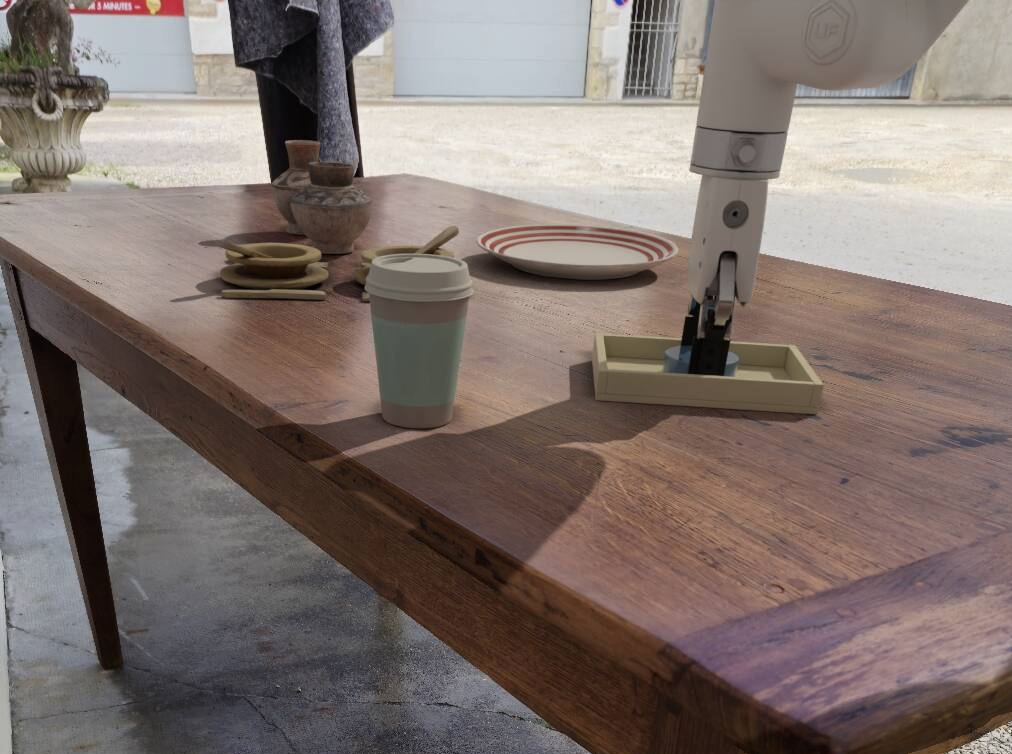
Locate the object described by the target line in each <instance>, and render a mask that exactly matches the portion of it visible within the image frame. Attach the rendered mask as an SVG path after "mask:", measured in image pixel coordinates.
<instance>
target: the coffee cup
mask: <svg viewBox="0 0 1012 754" xmlns="http://www.w3.org/2000/svg"><path fill="white" fill-rule="evenodd" d="M473 284H474V283H473V280H472V279H471V276H470V270H469V265H468V263H467V262H466V261H464V260H462V259H459V258H456V257H454V258H452V257H447V256H440V255H431V254H393V255H386V256H381V257H377V258H375V259H373V260H372V262H371V266H370V270H369V275H368V276H367V277H366V285H364V291H366V292H369V299H370V301H369V305H370V306H369V307H370V309H369V310H370V317H371V326H372V335H373V345H374V353H375V361H376V362H375V363H376V370H377V372H376V373H377V380H378V389H379V399H380V408H381V415H382V418H383V420H384V421H385V422H386V423H388V424H390V425H393V426H396V427H400V428H406V429H418V430H419V429H421V430H422V429H433V428H439V427H442V426H445V425H447V424H448V423H450V422H451V420H452V418H453V411H454V405H455V398H456V391H457V384H458V379H459V371H460V364H461V358H462V351H463V344H464V338H465V331H466V324H467V317H468V310H469V303H470V298H471V297H470V296H472V295H473V294H474V291H475V290H474V289H473Z"/></svg>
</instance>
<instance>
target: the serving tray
mask: <svg viewBox="0 0 1012 754" xmlns="http://www.w3.org/2000/svg"><path fill="white" fill-rule="evenodd" d="M681 340H682V337H667V336H666V337H665V336H648V335H634V334H633V335H632V334H618V333H602V332H601V333H600V332H595V333H594V338H593V347H592V354H591V355H592V357H591V363H592V365H591V366H592V375H593V386H594V396H595V401H599V402H600V401H601V402H619V403H630V404H631V403H632V404H633V403H634V404H649V405H661V406H662V405H663V406H664V405H665V406H677V407H679V406H680V407H693V408H695V407H696V408H711V409H726V410H742V411H756V412H757V411H758V412H772V413H773V412H774V413H786V414H787V413H788V414H804V415H805V414H806V415H818V411H819V406H820V403H821V399H822V394H823V390H824V387H825V385H824V383H823V382H822V380H821V379H820V377H819V376H818V375H817V373H816V372H815V371H814V368H812V367H811V365H810V363H808V361H807V360H806V358H805V357H804V355H803V354H802V352H801V351H800V350H799V349H798V347H797V346H796V345H795V344H782V343H781V344H779V343H763V342H748V341H730V346H729V352H732V353H734V354H736V355H737V356H738V357H739V362H738V367H737V372H736V377H727V376H711V375H695V374H679V373H663V372H662V369H663V362H664V355H665V351H666V350H667V349H669V348H671V347H676V346H681Z"/></svg>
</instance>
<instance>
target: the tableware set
mask: <svg viewBox="0 0 1012 754" xmlns="http://www.w3.org/2000/svg"><path fill="white" fill-rule="evenodd" d="M459 234H460V230H459V227H458V226H457V225H451V226H448V227H447V228H445V229H444V230H442V231H441V232H440V233H439V234H438V235H436V236H435V237H433V238H432V239H431V240H430V241H428V242H427V243H425V245H388V246H387V245H386V246H379V247H378V246H377V247H373V248H369V249H365V250H363V251H362V252H361V253H360V258H361V260H362V261H364V262H361V263H360V268H359V269H357V270H356V271H355V272H354V279H355V281H356V282H358V283H359V284H361V285H363V286H365V285H366V277H367V276H368V275H369V270H370V266H371V262H372V260H373V259H375V258H377V257H381V256H386V255H393V254H431V255H440V256H447V257H452V258H455V254H454V252H452V251H450V250H448V249H445V248H442V246H443V245H445V244H446V243H448V242H450V241H451V240H452V239H454V238H455V237H457V236H458V235H459ZM219 247H220V248H221V249H224V250H225V253H224V254H225V257H226V259H227V260H229V261H231V262H233V264H228V265H227V266H224V267H222V268H221V269H220V271H219V276H220V278H221V279H222V280H223V281H225V282H227V283H230V284H233V285H237V286H238V287H242V288H247V289H222V290H221V297H222V298H225V299H287V300H288V299H289V300H290V299H291V300H309V301H310V300H313V301H314V300H315V301H325V300H326V299H327V293H326V292H325V291H323V290H310V289H306V288H310V287H312V286H314V285H317V284H320V283H323V282H325V281H327V280H328V278H329V271H328V267H329V262H327V261H326V262H325V261H324V262H323V261H321V259H322V253H321V251H320V250H318V249H316V248H313V247H312V246H309V245H304V244H297V243H285V242H256V243H245V244H240V245H238V244H235V243H233V242H229V241H224V240H221V241H220V244H219ZM440 247H441V248H440ZM361 297H362V299H361V300H362V302H370V299H369V292H367V291H366V292H365V291H364V292H362V293H361Z"/></svg>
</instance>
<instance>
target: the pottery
mask: <svg viewBox="0 0 1012 754" xmlns="http://www.w3.org/2000/svg"><path fill="white" fill-rule="evenodd" d="M284 145H285V148H286V152H287V156H288V164H289V168H287V170H286V171H284V172H282V173H281V174H280V175H279V176H278V177H276V178H275V179H274V180H273V181H272V182H271V184H270V189H271V193H272V197H273V199H274V203H275V205H276V208H277V210H278V212H279V213H280V215H281V216H282V217H283V218H284V220H286V221H287V223H288V224H287V228H286V233H288V234H291V235H297V236H306V237H307V238H308V239H309V240H310V241H311V247H313V248H316V249H318V250H320V251H321V255H322V254H323V255H344V254H346V255H347V254H350V253H353V252H354V249H355V247H354V243H355V241H356V240H357V239H359V237H360V236H361V235H362V234H363V233H364V231H365V230H366V228H367V227H368V225H369V222H370V220H371V217H372V214H373V207H374V201H373V199H372V198H371V197H370V196H368V195H367V194H366V193H365V192H364V191H363V190H361V189H360V188H358V187H357V186H355V185H353V181H354V177H355V165H354V164H352V163H345V162H335V161H319V154H320V149H321V142H320V141H317V140H316V141H315V140H307V139H293V140H285V142H284Z"/></svg>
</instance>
